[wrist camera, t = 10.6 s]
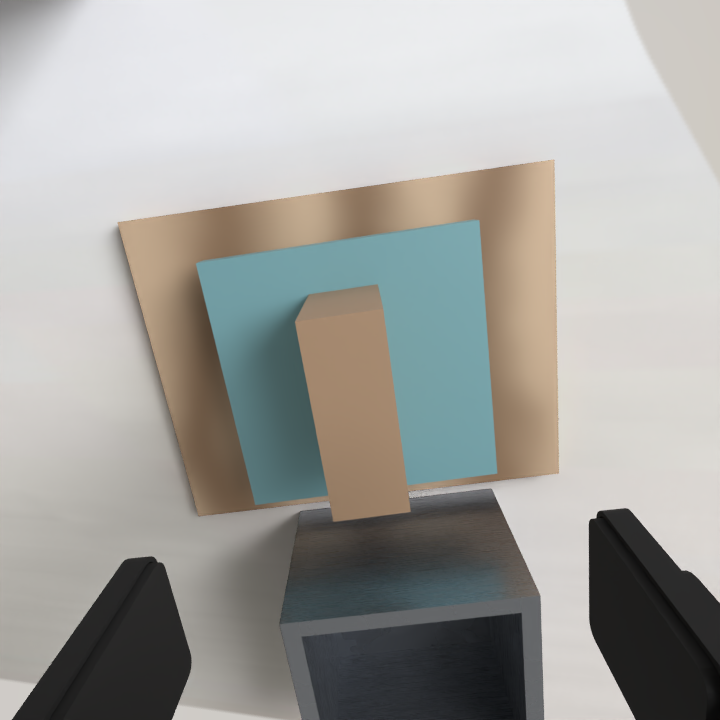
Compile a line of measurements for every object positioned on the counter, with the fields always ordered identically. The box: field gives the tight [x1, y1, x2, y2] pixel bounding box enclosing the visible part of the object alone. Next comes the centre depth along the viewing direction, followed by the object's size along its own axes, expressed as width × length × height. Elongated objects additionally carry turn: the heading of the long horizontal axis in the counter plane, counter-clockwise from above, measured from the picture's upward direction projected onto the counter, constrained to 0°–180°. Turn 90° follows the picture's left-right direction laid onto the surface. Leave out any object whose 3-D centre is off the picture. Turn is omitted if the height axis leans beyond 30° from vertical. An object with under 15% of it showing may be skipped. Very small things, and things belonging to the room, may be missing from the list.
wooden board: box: [118, 160, 559, 516], centre depth 25 cm, size 20×16×1 cm
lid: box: [196, 219, 497, 522], centre depth 22 cm, size 12×12×8 cm
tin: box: [280, 489, 544, 720], centre depth 26 cm, size 11×11×8 cm
